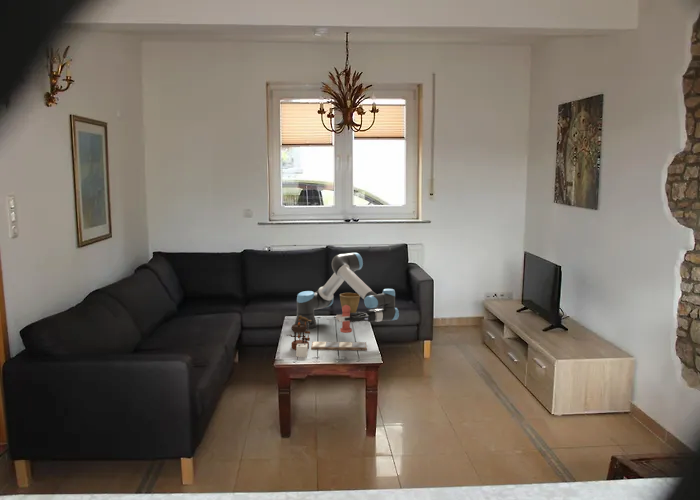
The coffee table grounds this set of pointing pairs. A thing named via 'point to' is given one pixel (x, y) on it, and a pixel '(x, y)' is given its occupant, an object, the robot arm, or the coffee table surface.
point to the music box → (299, 329)
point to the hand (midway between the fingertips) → (337, 318)
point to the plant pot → (350, 300)
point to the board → (339, 346)
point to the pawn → (346, 324)
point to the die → (301, 350)
